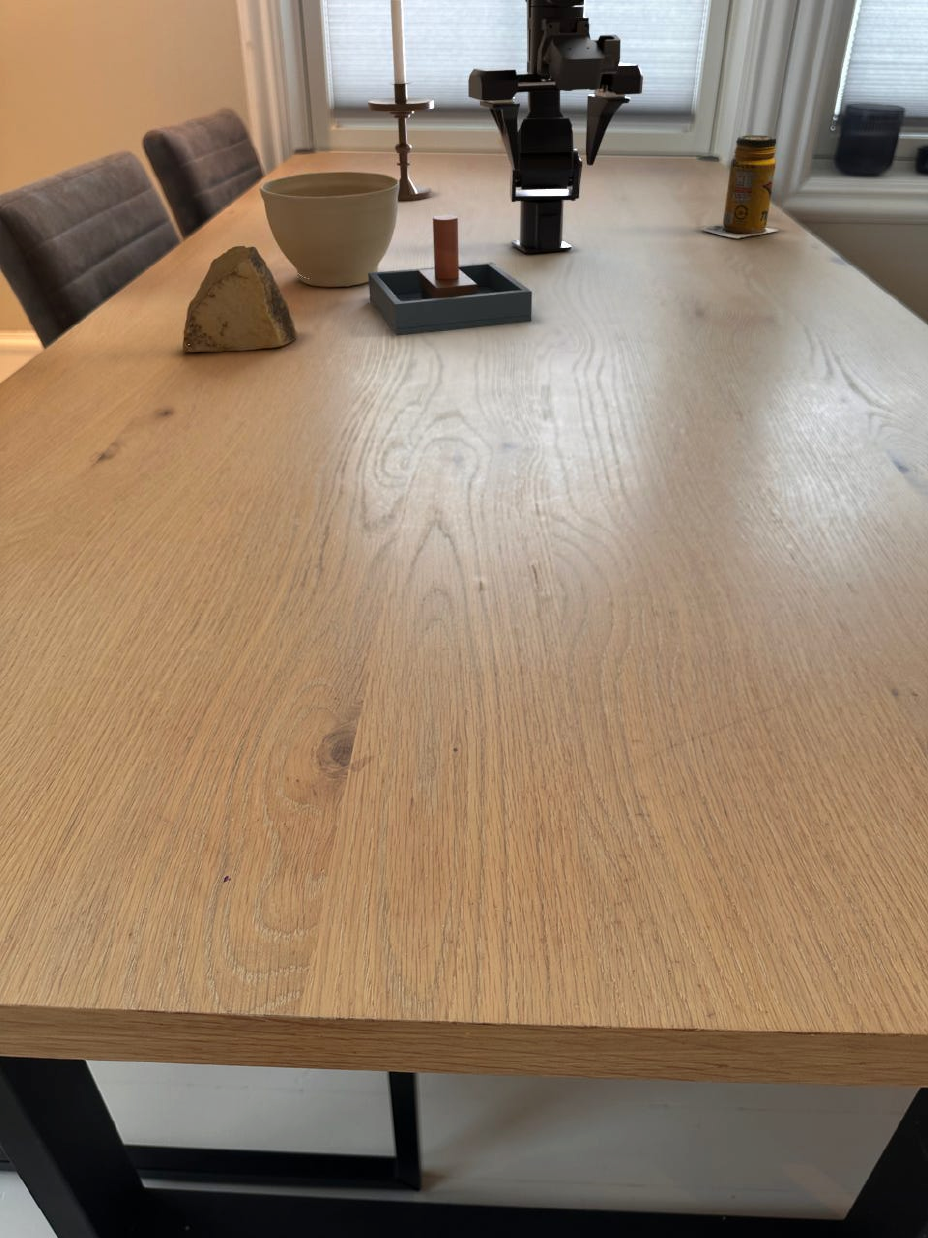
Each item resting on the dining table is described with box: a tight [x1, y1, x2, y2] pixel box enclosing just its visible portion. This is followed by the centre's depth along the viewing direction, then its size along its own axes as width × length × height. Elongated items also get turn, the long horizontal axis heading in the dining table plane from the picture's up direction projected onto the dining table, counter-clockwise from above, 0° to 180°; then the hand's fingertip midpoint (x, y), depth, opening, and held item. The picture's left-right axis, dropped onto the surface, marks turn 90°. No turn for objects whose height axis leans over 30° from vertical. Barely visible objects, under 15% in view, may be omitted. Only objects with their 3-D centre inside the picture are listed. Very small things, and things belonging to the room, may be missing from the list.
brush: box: [418, 214, 477, 300], centre depth 100 cm, size 8×4×9 cm, turn 16°
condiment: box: [699, 134, 779, 239], centre depth 131 cm, size 7×8×12 cm
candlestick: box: [367, 0, 435, 202], centre depth 153 cm, size 11×11×35 cm
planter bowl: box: [259, 171, 400, 288], centre depth 113 cm, size 16×16×11 cm
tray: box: [368, 261, 533, 336], centre depth 102 cm, size 14×15×3 cm
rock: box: [182, 245, 299, 353], centre depth 93 cm, size 11×9×10 cm
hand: (552, 167), depth 109 cm, fingers open, 9 cm apart
